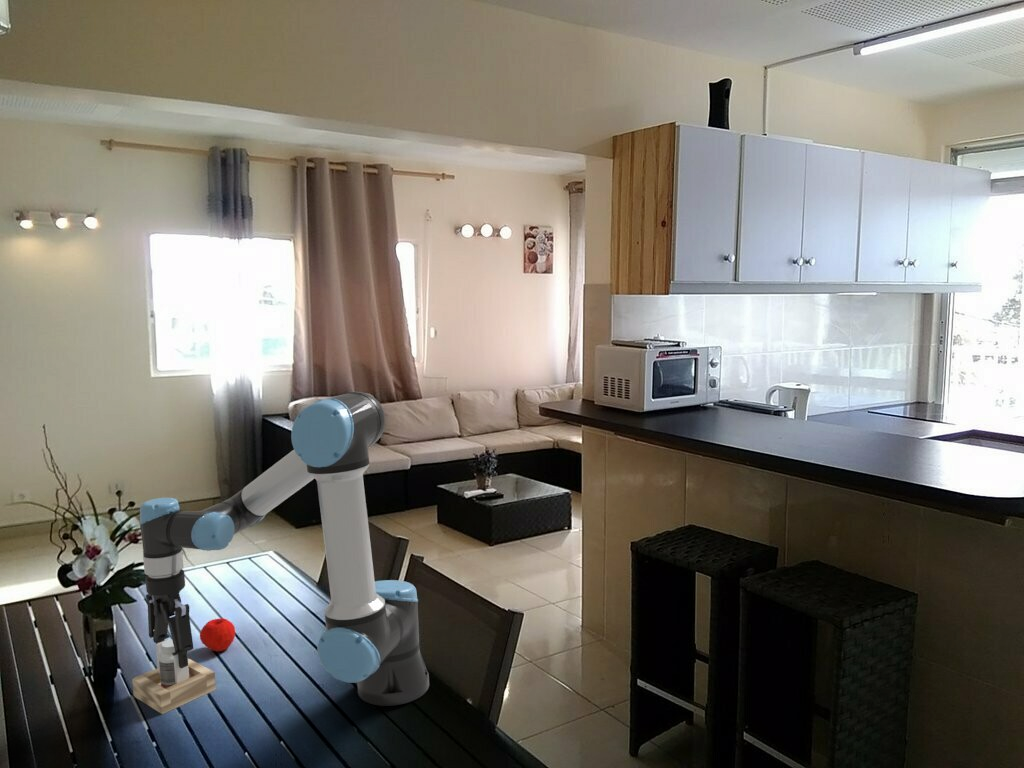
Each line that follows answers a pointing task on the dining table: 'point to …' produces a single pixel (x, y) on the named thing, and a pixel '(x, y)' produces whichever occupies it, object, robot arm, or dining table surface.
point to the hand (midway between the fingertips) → (173, 675)
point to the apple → (218, 634)
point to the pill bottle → (167, 664)
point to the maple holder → (173, 688)
